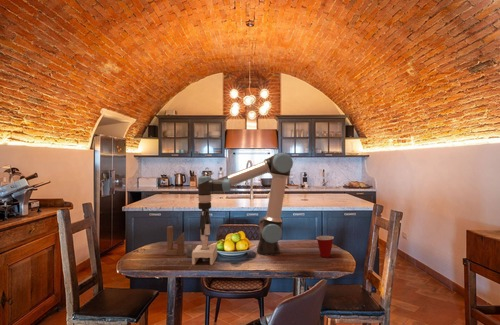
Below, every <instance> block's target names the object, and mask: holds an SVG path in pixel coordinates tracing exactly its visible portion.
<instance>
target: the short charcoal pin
mask: <svg viewBox="0 0 500 325" xmlns="http://www.w3.org/2000/svg"><path fill="white" fill-rule="evenodd" d="M193 246H194V245H193V244H187V245H186V257H187V258H192V252H193V251H194V248H193Z"/></svg>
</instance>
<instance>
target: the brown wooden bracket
mask: <svg viewBox="0 0 500 325" xmlns="http://www.w3.org/2000/svg"><path fill="white" fill-rule="evenodd" d="M166 239H167V242H166V245H167V246H166V247H167V248H166V250H165V252H166V256H179V257H181V256H182V257H183V256H184V255H185V232H182V233H181V234H180V235H179V236H178V238H176V239H175V240H174V227H173V225H170V226H167V227H166ZM174 245H177V248H175V247H174Z"/></svg>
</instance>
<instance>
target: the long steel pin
mask: <svg viewBox="0 0 500 325" xmlns="http://www.w3.org/2000/svg"><path fill="white" fill-rule="evenodd" d="M205 237H206V240H201V245H202V250H208V245H209V236H208V235H205ZM201 261H202V262H207V261H209V258H201Z"/></svg>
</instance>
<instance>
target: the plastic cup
mask: <svg viewBox="0 0 500 325" xmlns="http://www.w3.org/2000/svg"><path fill="white" fill-rule="evenodd" d="M315 238H316V241H317V244H318V250H319V255H320V257H322V258H330V257H331V253H332V247H333V242H334V238H335V237H334V236H332V235H318V236H317V237H315Z"/></svg>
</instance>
